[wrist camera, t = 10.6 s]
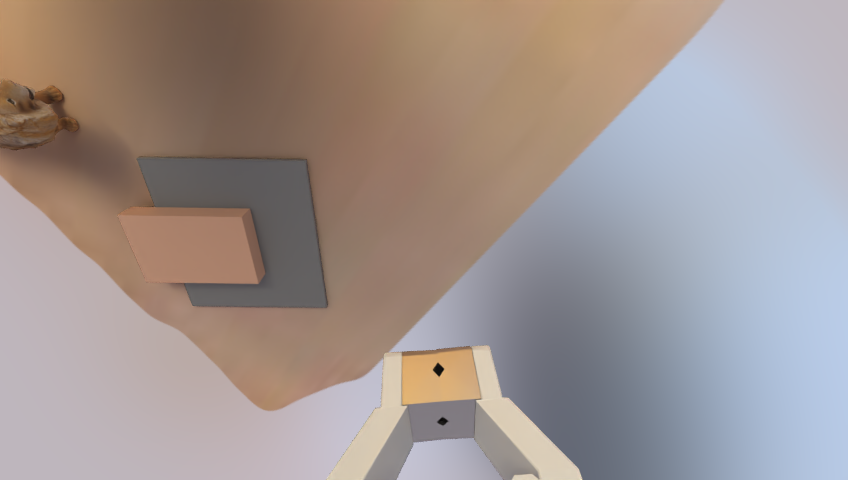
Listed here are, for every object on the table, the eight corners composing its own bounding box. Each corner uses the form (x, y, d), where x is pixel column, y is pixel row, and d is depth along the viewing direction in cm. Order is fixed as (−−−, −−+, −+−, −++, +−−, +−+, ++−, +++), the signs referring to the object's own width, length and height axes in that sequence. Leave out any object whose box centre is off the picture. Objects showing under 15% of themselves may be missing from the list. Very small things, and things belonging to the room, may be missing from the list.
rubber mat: (140, 156, 35) (136, 158, 34) (306, 159, 35) (305, 161, 35) (194, 303, 44) (192, 305, 43) (327, 304, 44) (326, 307, 43)
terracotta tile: (250, 207, 37) (132, 206, 37) (241, 217, 35) (116, 215, 35) (266, 272, 41) (159, 271, 41) (258, 283, 39) (146, 282, 39)
